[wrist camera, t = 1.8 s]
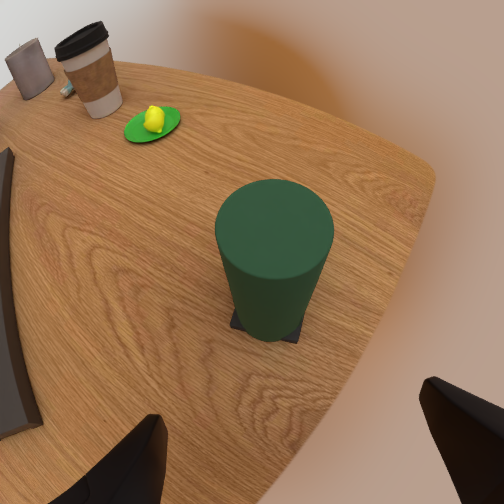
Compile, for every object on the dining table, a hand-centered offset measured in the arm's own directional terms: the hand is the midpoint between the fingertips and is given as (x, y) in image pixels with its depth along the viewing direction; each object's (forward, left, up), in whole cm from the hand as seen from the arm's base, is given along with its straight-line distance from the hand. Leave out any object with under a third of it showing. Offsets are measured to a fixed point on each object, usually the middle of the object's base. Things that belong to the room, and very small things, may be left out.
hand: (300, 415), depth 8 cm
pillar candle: (+81, +17, -14) cm, 84 cm away
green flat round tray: (+36, -3, -14) cm, 39 cm away
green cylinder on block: (+9, -5, -13) cm, 17 cm away
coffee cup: (+48, +2, -14) cm, 50 cm away
